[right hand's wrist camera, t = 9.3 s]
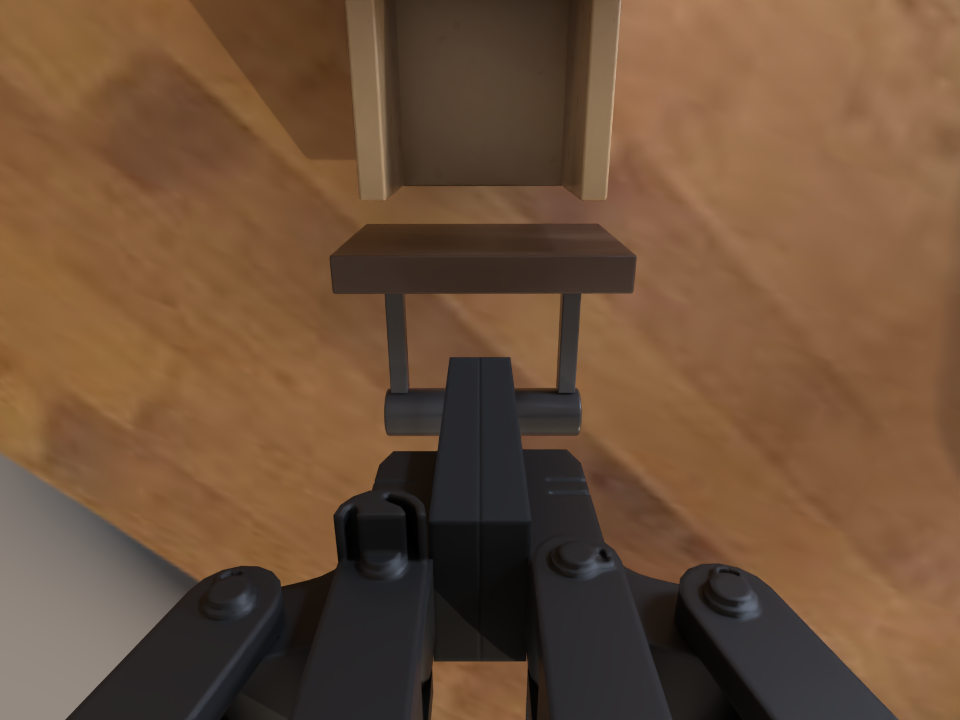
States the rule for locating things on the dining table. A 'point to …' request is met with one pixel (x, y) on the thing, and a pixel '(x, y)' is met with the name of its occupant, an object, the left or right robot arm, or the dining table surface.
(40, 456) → the dining table surface
